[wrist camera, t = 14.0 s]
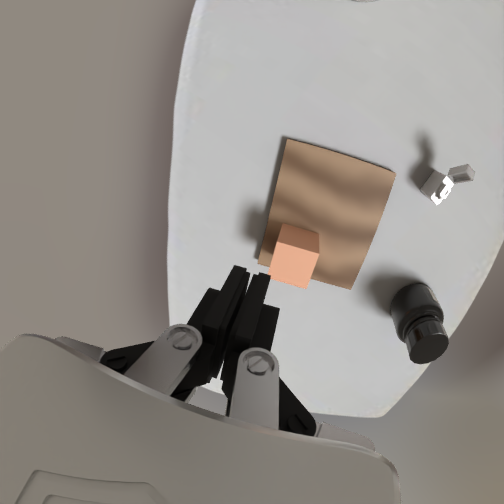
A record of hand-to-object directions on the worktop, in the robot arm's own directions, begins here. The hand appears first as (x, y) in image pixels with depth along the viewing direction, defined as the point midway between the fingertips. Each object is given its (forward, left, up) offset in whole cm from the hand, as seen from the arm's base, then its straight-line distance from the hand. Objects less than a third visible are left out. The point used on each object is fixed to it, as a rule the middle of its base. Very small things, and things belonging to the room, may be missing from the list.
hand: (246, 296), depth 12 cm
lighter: (-7, +21, -29) cm, 37 cm away
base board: (+5, +6, -29) cm, 30 cm away
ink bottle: (+15, +27, -29) cm, 43 cm away
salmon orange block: (+10, +3, -28) cm, 30 cm away
